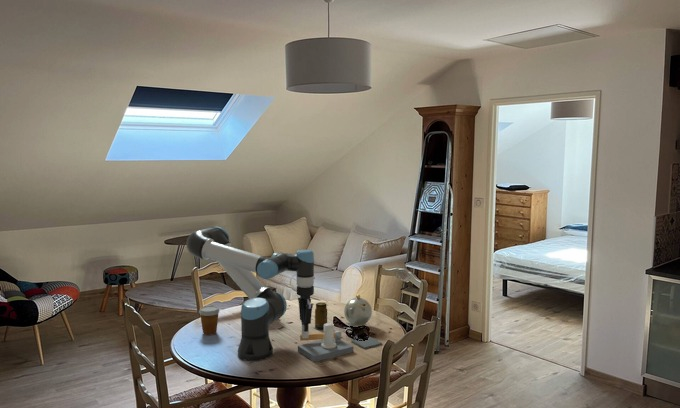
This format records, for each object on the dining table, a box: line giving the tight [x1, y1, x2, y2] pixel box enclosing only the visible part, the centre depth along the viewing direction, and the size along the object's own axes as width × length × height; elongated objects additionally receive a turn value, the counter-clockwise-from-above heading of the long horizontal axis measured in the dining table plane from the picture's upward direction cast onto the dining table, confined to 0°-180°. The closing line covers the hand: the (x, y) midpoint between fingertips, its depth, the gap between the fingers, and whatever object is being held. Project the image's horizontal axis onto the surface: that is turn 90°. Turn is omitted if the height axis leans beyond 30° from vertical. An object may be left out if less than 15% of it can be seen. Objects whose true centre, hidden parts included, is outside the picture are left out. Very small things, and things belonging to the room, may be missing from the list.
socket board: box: [297, 338, 354, 363], centre depth 242 cm, size 20×14×4 cm
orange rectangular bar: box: [299, 330, 342, 341], centre depth 246 cm, size 18×3×3 cm, turn 101°
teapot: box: [343, 294, 373, 327], centre depth 275 cm, size 18×14×16 cm
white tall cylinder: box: [321, 322, 336, 349], centre depth 241 cm, size 7×7×12 cm
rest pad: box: [351, 336, 383, 350], centre depth 252 cm, size 10×10×1 cm
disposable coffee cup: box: [198, 305, 220, 336], centre depth 264 cm, size 10×10×12 cm
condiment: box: [310, 301, 328, 332], centre depth 272 cm, size 7×8×12 cm
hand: (305, 337), depth 244 cm, fingers closed
